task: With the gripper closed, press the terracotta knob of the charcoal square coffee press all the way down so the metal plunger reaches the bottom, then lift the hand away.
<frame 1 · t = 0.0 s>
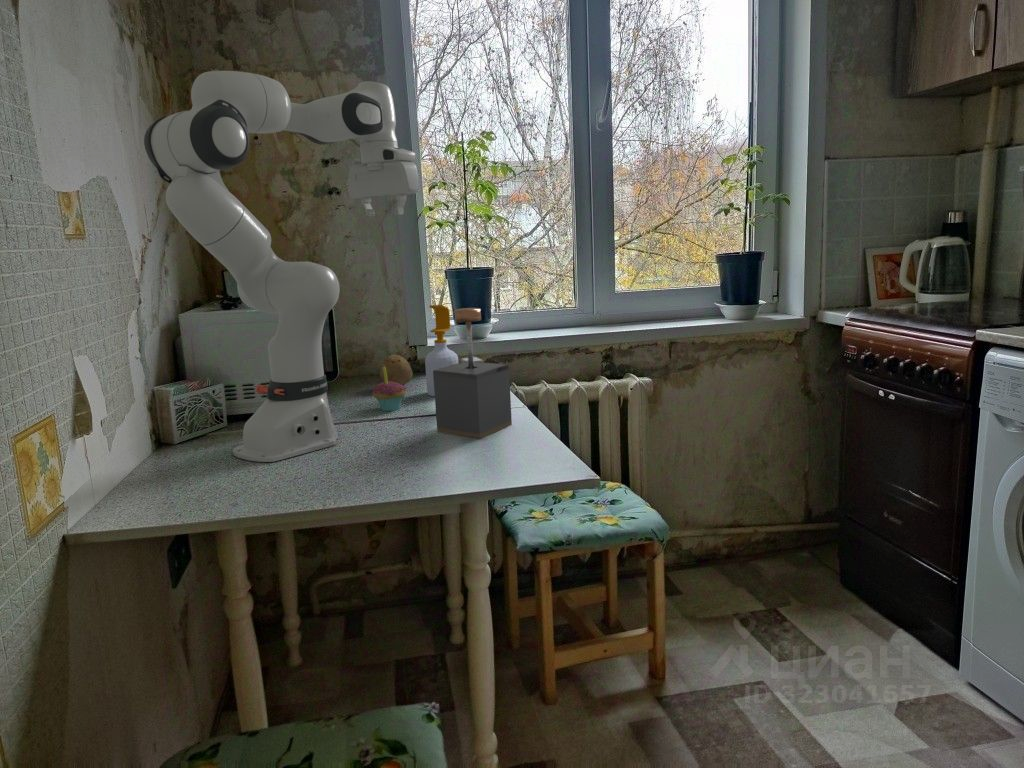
hand: (384, 215, 170), 48 cm above the table, fingers open, 8 cm apart
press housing: (474, 428, 159), on the table
soap bottle: (444, 394, 195), on the table
plunger: (469, 343, 155), point 19 cm above the table, slide at 0.0 cm
skincare box: (474, 405, 180), on the table
natural sponge: (396, 389, 204), on the table
cupcake: (390, 409, 181), on the table
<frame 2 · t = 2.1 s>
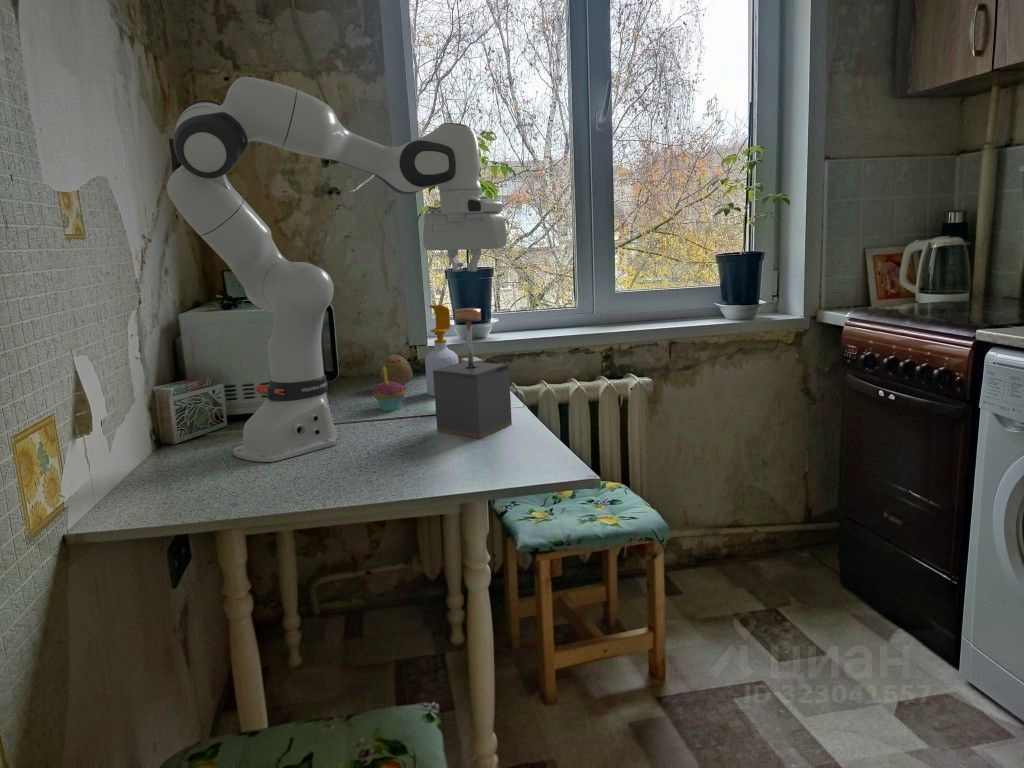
hand: (465, 271, 152), 35 cm above the table, fingers open, 3 cm apart
nothing on the table moved.
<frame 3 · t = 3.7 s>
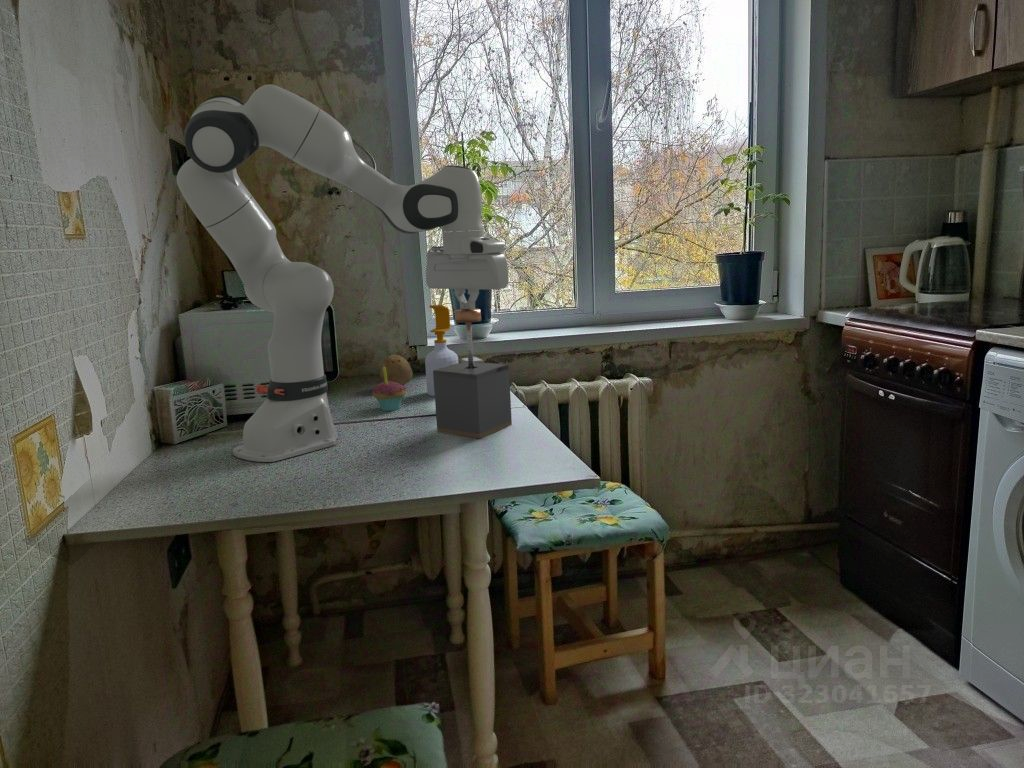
hand: (467, 309, 154), 27 cm above the table, fingers closed, pressing on plunger
plunger: (469, 344, 155), point 19 cm above the table, slide at 0.1 cm, touching gripper
everything else where it was.
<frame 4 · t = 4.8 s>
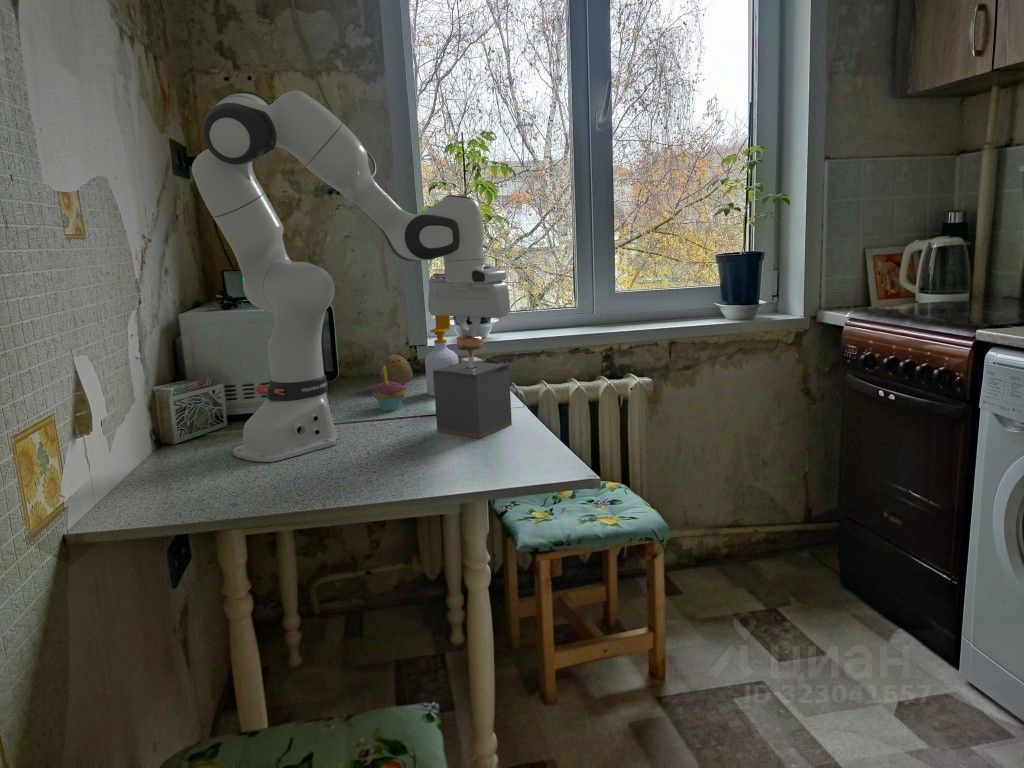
hand: (469, 336, 155), 21 cm above the table, fingers closed, pressing on plunger
plunger: (471, 370, 156), point 13 cm above the table, slide at 6.1 cm, touching gripper
everything else where it was.
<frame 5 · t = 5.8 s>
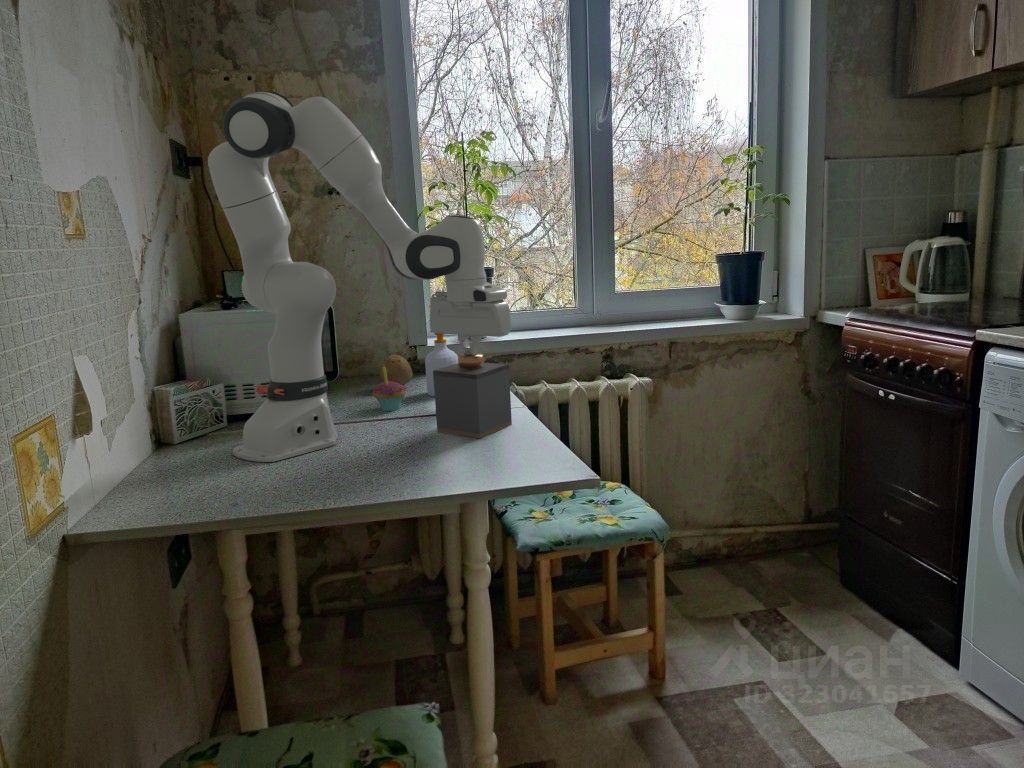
hand: (470, 354, 156), 17 cm above the table, fingers closed, pressing on plunger
plunger: (472, 388, 157), point 9 cm above the table, slide at 10.1 cm, touching gripper
everything else where it was.
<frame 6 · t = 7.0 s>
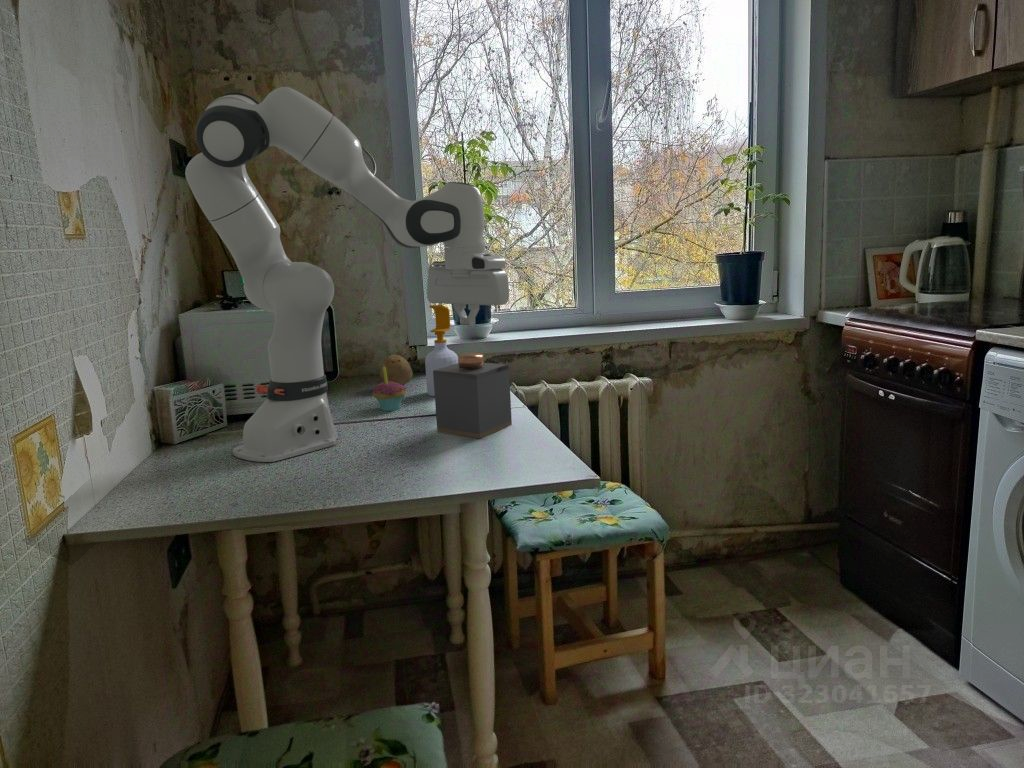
hand: (467, 325, 154), 23 cm above the table, fingers closed
plunger: (472, 388, 157), point 9 cm above the table, slide at 10.1 cm
everything else where it was.
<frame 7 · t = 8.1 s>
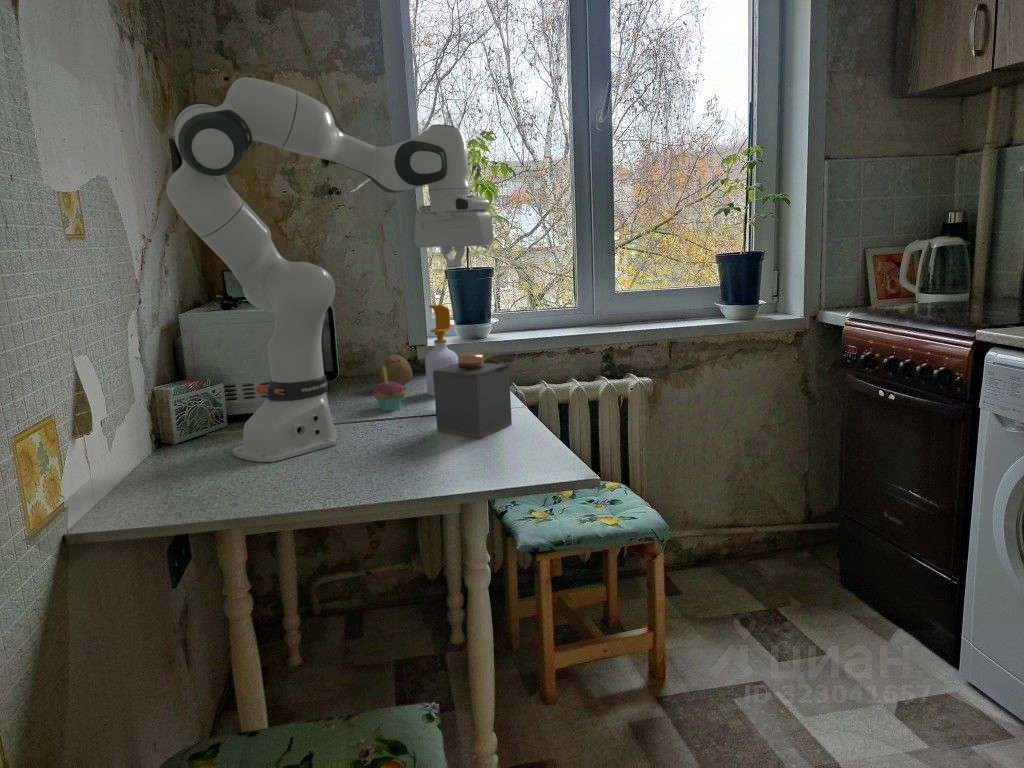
hand: (454, 267, 158), 36 cm above the table, fingers closed
nothing on the table moved.
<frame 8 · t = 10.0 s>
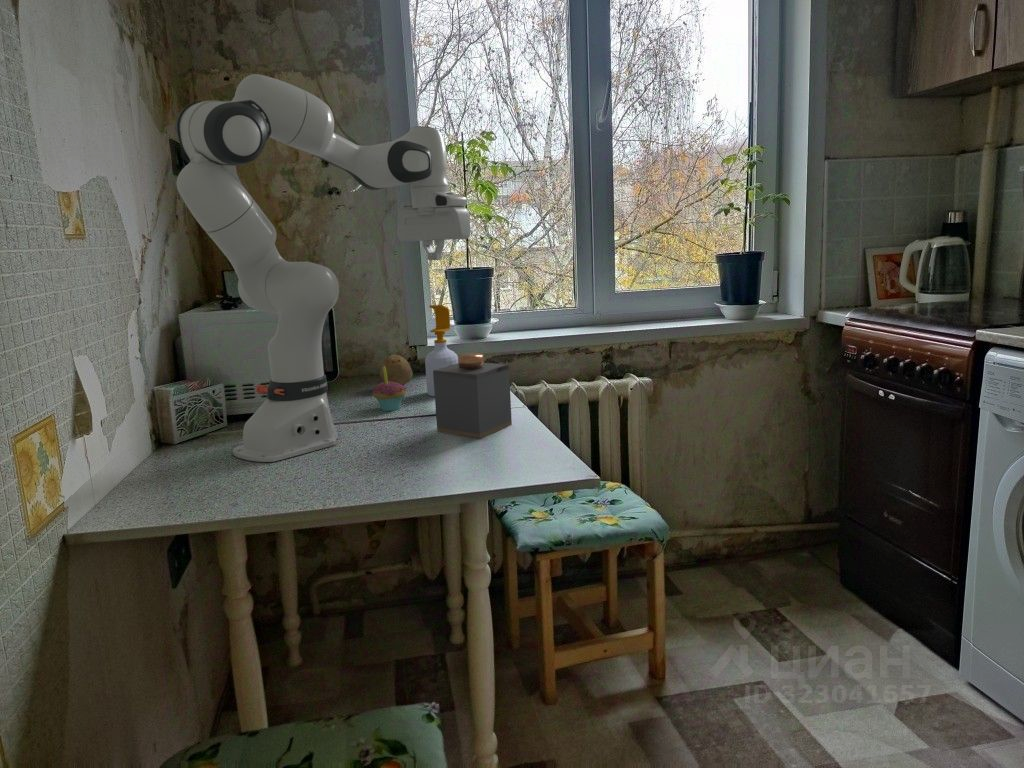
hand: (434, 260, 169), 37 cm above the table, fingers closed
nothing on the table moved.
at the end: plunger slide at 10.1 cm; the gripper is holding nothing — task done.
